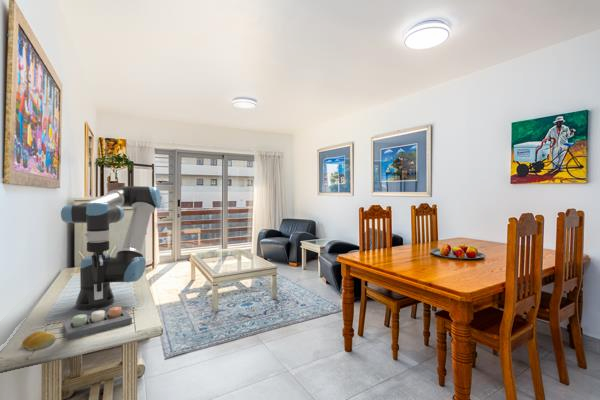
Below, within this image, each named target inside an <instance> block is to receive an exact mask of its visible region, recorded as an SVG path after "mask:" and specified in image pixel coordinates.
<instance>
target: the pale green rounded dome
mask: <svg viewBox="0 0 600 400" xmlns="http://www.w3.org/2000/svg"><path fill="white" fill-rule="evenodd" d="M87 316H88V315H87V314H84V313H82V314H81V313H80V314H77V315H74V316H73V317H72V319H73V328H75V327H79V326H83V325H87Z"/></svg>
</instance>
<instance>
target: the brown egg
mask: <svg viewBox="0 0 600 400" xmlns="http://www.w3.org/2000/svg"><path fill="white" fill-rule="evenodd" d="M121 308H122V307H121V306H113V307H110V308H109V309H108V311H109V319H112V318H116V317H121Z"/></svg>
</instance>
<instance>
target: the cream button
mask: <svg viewBox="0 0 600 400" xmlns="http://www.w3.org/2000/svg"><path fill="white" fill-rule="evenodd" d="M105 312H106V311H105V310H103V309H100V310H96V311H95V310H94V311H93V312H91V314H90V315H91V324H92V323H96V322H100V321H104V320H105Z"/></svg>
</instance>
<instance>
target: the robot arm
mask: <svg viewBox="0 0 600 400" xmlns="http://www.w3.org/2000/svg"><path fill="white" fill-rule="evenodd" d="M161 204H162V197H161V192H160V190H159V188H158V187H156V186H143V185H142V186H138V185H137V186H135V185H128V186H123V187H122V186H121V187H118V188H115V189H112V190H110V191H108V192H106V194H104V195H101V196H98V197H96V198H94V199H90V200H88V201H85V202H83V203H80V204H70V205H69V204H68V205H67V204H66V205H65V206H63V207H61V210H60V218H61V220H62V222H64V223H69V224H86V233H84V236H86V241H87V242H86V252H88V253H93V255H92V254H91V256H86V257H84V258H82V259H81V260H80V265H79V266H80V267H79V270H80V271H79V273H80V276H79V277H80V278H79V279H80V282H79V285H80V287H79V288H80V290H79V293H78V296H77V298H76V301H75V309H77V310H80V311H81V310H82V311H89V310H90V311H91V310H96V309H102V308H105V307H107V306H110V305H112V304H113V303H114V302H115V295H114V293H113V290H112V287H111V283H134V282H138V281H139V280H140V279H142V277H143V275H144V274H145V273H144V272H145V270H146V263H147V262H146V259H145V258H144V255H143V254H142V249H143V246H144V242H145V238H146V235H147V229H148V226H149V223H150V219H151V218H150V217H151V214H154V212H155V211H156V208H160V207H161ZM123 207H124V208H127V207H128V208H131V209H132V210H133V211H132V214H131V217H130V222H129V224H128V227H127V231H126V233H125V238H124V241H123V244H122V248H121V250H118V251H117V253H116V255H115V256H114V257H112V256H111V254H110V253H104V252H105V251H106V252H107V251H109V250H110V224H114V223H115V224H116V223H118V222H120V221H122V220H123V218H124V216H125V211H124V209H123Z"/></svg>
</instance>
